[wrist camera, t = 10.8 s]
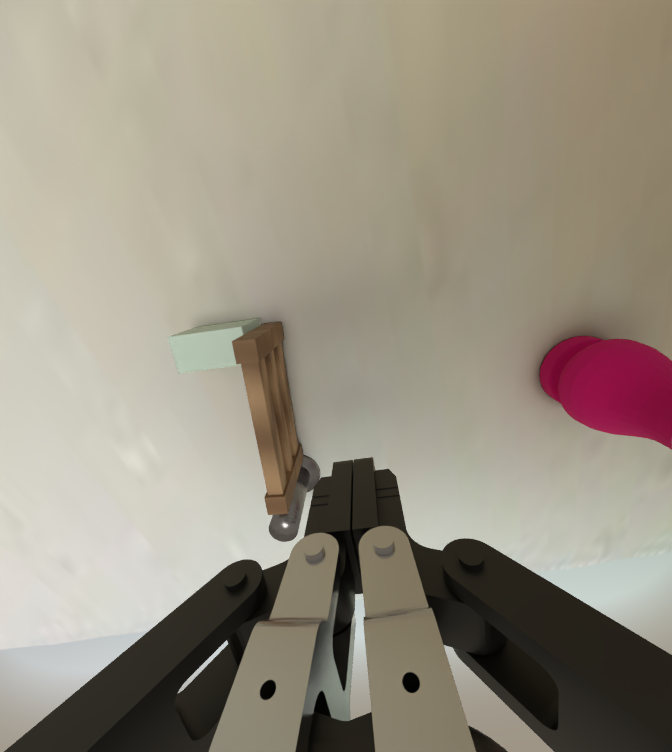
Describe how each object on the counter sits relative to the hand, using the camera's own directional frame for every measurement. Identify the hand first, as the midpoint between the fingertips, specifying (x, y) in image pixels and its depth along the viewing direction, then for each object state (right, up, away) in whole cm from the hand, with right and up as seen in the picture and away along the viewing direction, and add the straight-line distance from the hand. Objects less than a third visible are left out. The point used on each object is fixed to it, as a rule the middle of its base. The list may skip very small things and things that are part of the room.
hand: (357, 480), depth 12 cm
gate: (-6, +2, +19) cm, 20 cm away
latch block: (-10, +7, +18) cm, 22 cm away
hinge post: (-5, -6, +22) cm, 23 cm away
